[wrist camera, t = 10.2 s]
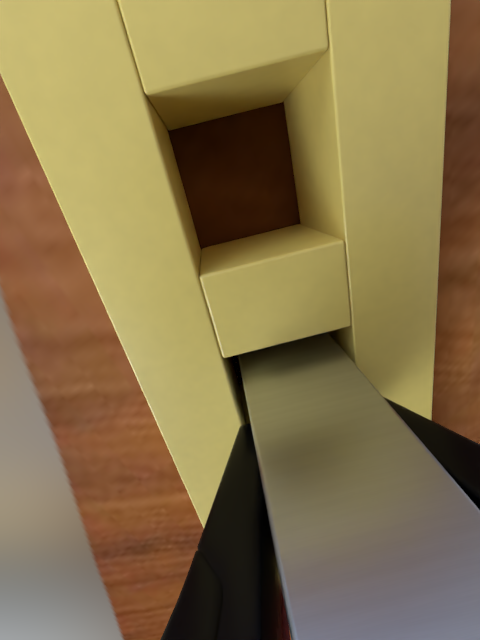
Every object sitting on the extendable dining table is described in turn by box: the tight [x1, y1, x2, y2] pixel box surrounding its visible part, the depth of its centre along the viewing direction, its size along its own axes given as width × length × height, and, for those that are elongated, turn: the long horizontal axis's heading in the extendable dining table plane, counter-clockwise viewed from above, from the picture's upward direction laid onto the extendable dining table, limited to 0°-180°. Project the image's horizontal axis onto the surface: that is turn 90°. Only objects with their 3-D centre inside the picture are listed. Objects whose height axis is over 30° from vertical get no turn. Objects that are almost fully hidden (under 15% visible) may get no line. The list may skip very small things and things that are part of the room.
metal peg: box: [238, 332, 480, 640], centre depth 7 cm, size 3×3×9 cm
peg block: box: [0, 0, 451, 527], centre depth 11 cm, size 9×21×4 cm, turn 13°
